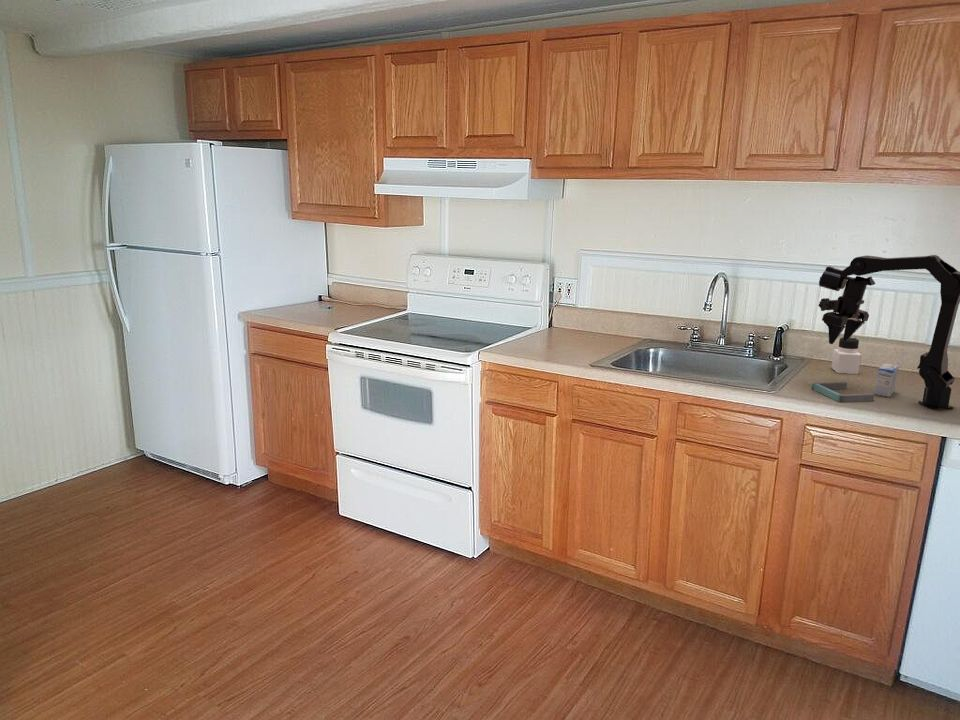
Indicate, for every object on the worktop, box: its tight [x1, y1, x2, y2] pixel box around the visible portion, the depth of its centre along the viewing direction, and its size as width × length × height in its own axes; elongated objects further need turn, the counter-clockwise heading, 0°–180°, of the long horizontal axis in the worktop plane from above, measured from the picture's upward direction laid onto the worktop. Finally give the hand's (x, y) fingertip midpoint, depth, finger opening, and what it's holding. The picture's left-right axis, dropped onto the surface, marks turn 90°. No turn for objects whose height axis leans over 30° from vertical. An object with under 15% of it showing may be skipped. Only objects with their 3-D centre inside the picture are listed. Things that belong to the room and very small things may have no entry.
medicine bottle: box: [831, 336, 862, 375], centre depth 247 cm, size 7×7×12 cm
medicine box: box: [874, 363, 899, 398], centre depth 222 cm, size 8×4×9 cm, turn 141°
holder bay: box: [811, 381, 875, 403], centre depth 221 cm, size 14×11×2 cm
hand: (837, 342), depth 228 cm, fingers open, 9 cm apart
